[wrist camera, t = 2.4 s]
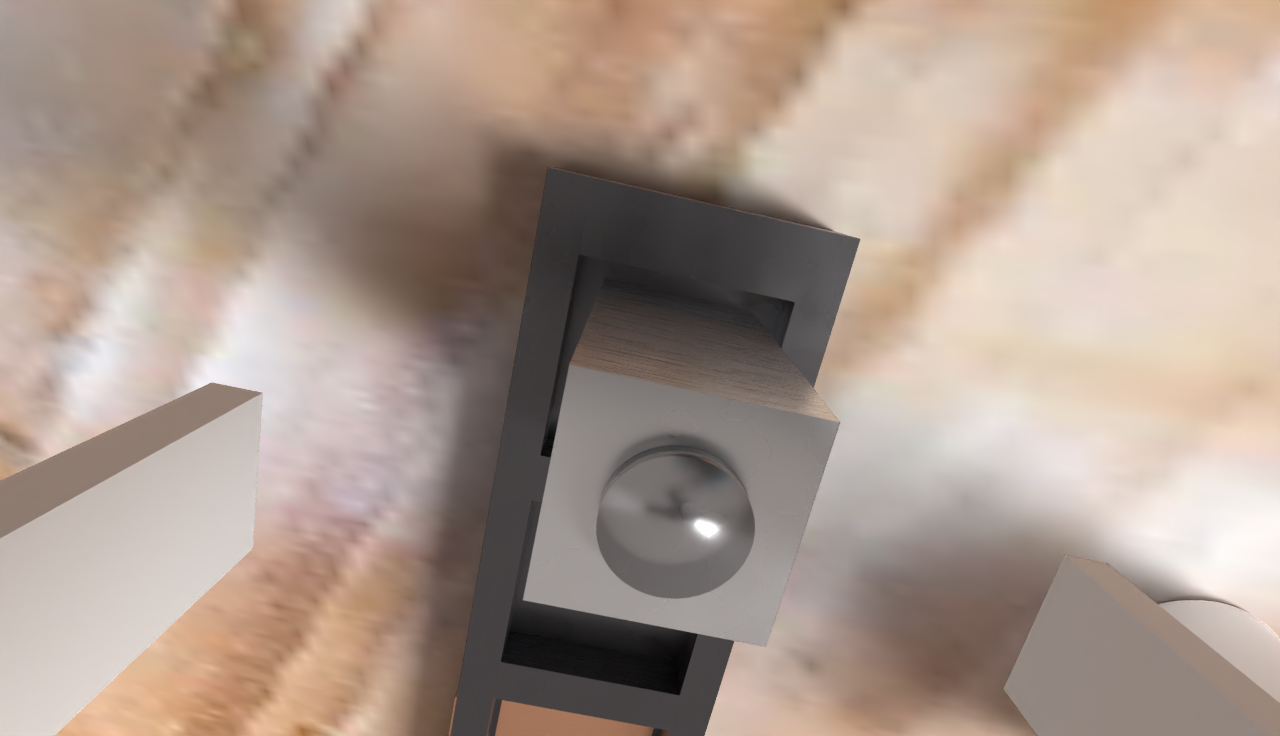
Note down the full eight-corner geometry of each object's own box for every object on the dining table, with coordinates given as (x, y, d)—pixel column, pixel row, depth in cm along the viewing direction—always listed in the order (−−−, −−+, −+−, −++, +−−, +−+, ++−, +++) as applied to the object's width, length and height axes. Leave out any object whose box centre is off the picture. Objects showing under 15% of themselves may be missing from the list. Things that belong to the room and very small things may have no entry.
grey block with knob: (604, 278, 19) (565, 373, 10) (752, 311, 19) (849, 434, 10) (575, 419, 20) (517, 617, 11) (715, 447, 20) (770, 666, 11)
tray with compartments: (556, 167, 19) (544, 166, 17) (835, 231, 19) (861, 239, 17) (445, 801, 26) (425, 865, 24) (652, 837, 26) (652, 903, 24)
